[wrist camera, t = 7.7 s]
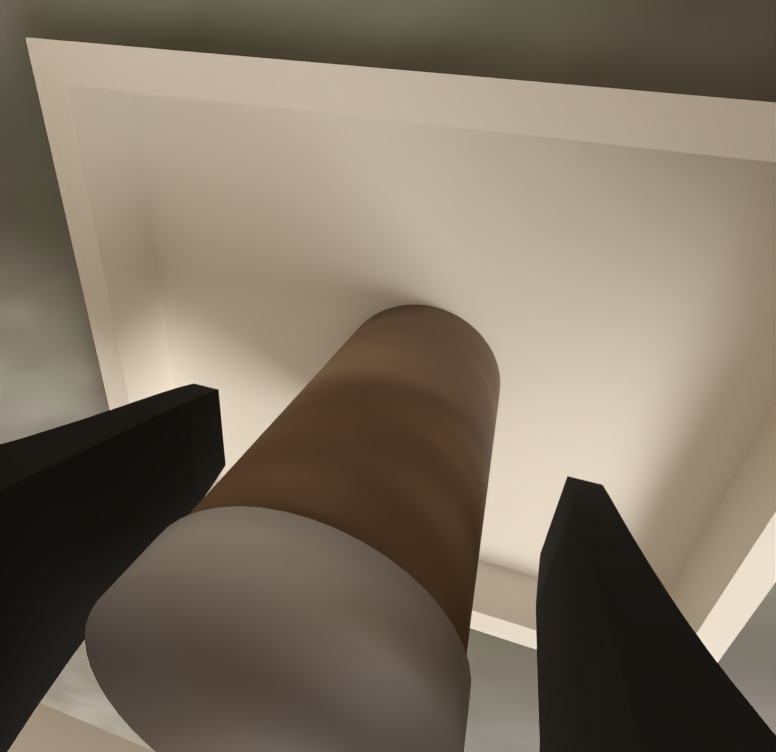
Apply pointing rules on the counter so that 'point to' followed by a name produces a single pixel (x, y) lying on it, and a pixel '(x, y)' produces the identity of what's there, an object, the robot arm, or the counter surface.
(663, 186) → the tray
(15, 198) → the counter surface
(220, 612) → the shaker
